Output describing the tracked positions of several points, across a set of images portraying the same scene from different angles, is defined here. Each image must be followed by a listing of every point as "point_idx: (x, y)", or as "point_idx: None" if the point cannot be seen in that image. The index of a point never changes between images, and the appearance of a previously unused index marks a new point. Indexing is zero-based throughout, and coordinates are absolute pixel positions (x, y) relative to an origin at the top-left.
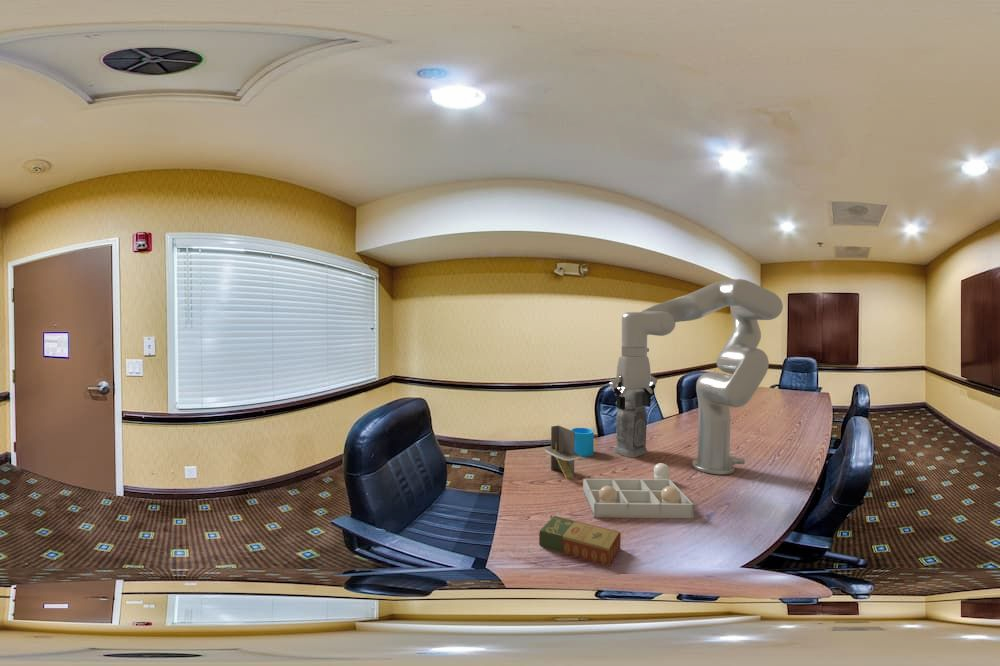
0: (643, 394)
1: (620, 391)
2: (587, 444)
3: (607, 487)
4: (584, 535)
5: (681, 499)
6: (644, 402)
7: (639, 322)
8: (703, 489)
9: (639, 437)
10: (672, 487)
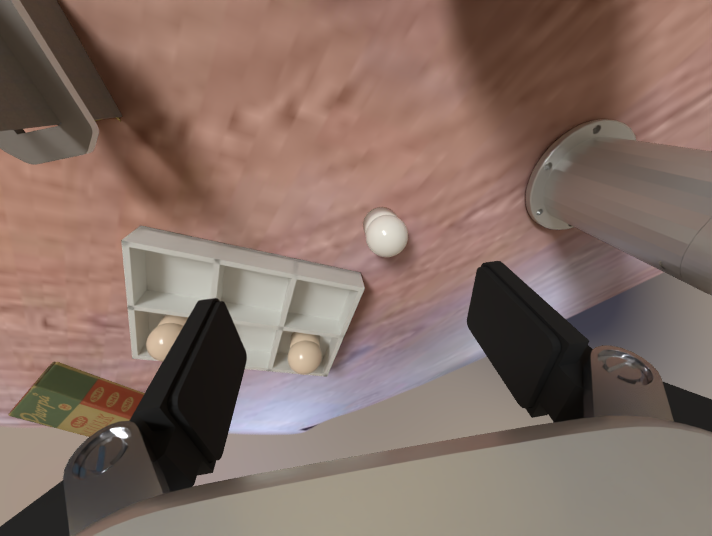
0: (537, 350)
1: (160, 489)
2: None
3: (159, 359)
4: (94, 431)
5: (334, 338)
6: (485, 304)
7: None
8: (433, 277)
9: None
10: (307, 372)
